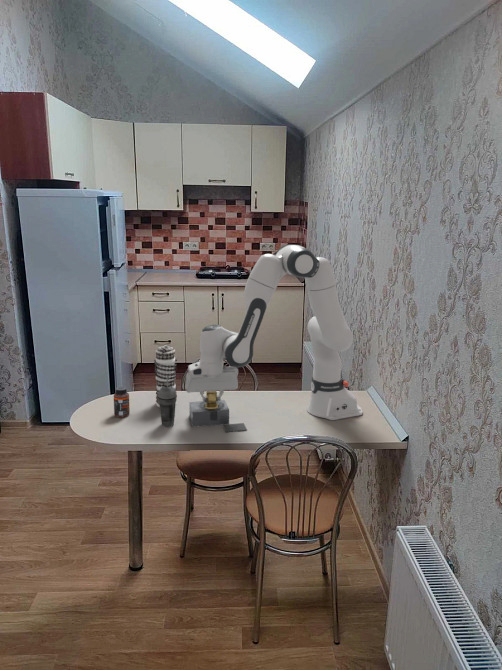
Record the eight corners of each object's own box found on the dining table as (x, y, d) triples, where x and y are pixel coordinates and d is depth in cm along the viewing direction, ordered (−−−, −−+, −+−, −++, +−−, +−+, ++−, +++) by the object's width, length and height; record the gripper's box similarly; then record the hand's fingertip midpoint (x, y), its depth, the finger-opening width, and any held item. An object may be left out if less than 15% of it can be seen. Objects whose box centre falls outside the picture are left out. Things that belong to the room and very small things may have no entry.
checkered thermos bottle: (157, 399, 223) (156, 343, 216) (179, 400, 223) (178, 344, 216) (153, 408, 214) (151, 349, 208) (175, 408, 214) (174, 350, 207)
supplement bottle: (124, 419, 203) (123, 391, 200) (111, 416, 205) (109, 389, 202) (132, 413, 209) (131, 386, 206) (119, 411, 210) (118, 384, 207)
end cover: (216, 412, 207) (216, 389, 204) (218, 417, 202) (219, 394, 199) (204, 413, 205) (204, 390, 203) (206, 418, 201) (206, 395, 198)
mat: (243, 424, 201) (243, 423, 201) (247, 430, 196) (247, 429, 195) (223, 425, 199) (223, 424, 199) (226, 432, 194) (226, 431, 194)
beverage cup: (175, 419, 204) (174, 370, 199) (179, 427, 197) (178, 377, 192) (156, 421, 201) (155, 372, 196) (160, 429, 195) (159, 379, 190)
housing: (224, 413, 210) (224, 399, 209) (229, 424, 201) (229, 409, 199) (189, 416, 207) (189, 402, 206) (192, 426, 198) (192, 412, 196)
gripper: (236, 363, 204) (236, 396, 207) (184, 365, 199) (184, 399, 203) (240, 368, 198) (239, 402, 202) (186, 371, 193) (186, 406, 197)
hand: (211, 401), depth 202 cm, fingers closed on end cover, 4 cm apart
